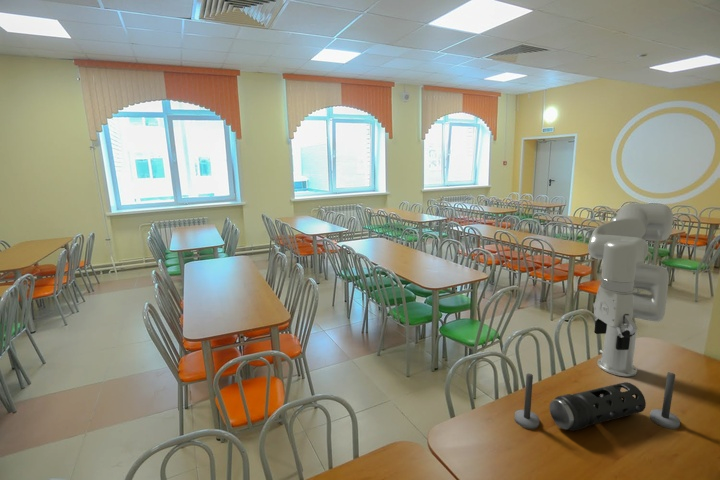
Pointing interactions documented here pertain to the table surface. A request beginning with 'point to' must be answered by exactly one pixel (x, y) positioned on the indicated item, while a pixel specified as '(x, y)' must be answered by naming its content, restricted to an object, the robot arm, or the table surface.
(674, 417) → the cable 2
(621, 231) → the robot arm
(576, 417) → the muzzle brake
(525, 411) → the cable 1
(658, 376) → the table surface
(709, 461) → the table surface
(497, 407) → the table surface
